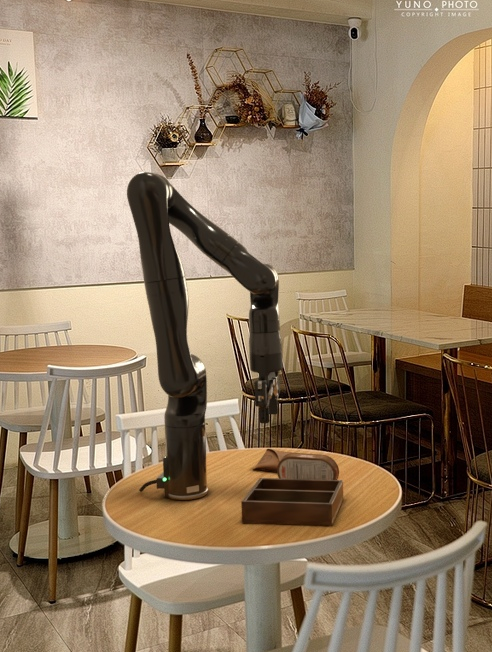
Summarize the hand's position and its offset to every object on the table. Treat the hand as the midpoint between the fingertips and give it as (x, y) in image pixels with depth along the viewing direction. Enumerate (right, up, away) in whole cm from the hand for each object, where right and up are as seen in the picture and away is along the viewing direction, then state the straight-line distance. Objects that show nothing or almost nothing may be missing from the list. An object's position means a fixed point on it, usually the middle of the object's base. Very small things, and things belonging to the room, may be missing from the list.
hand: (269, 418), depth 205 cm
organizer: (+7, -20, -10) cm, 23 cm away
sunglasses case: (+3, -16, +20) cm, 26 cm away
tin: (+9, -18, +6) cm, 20 cm away
